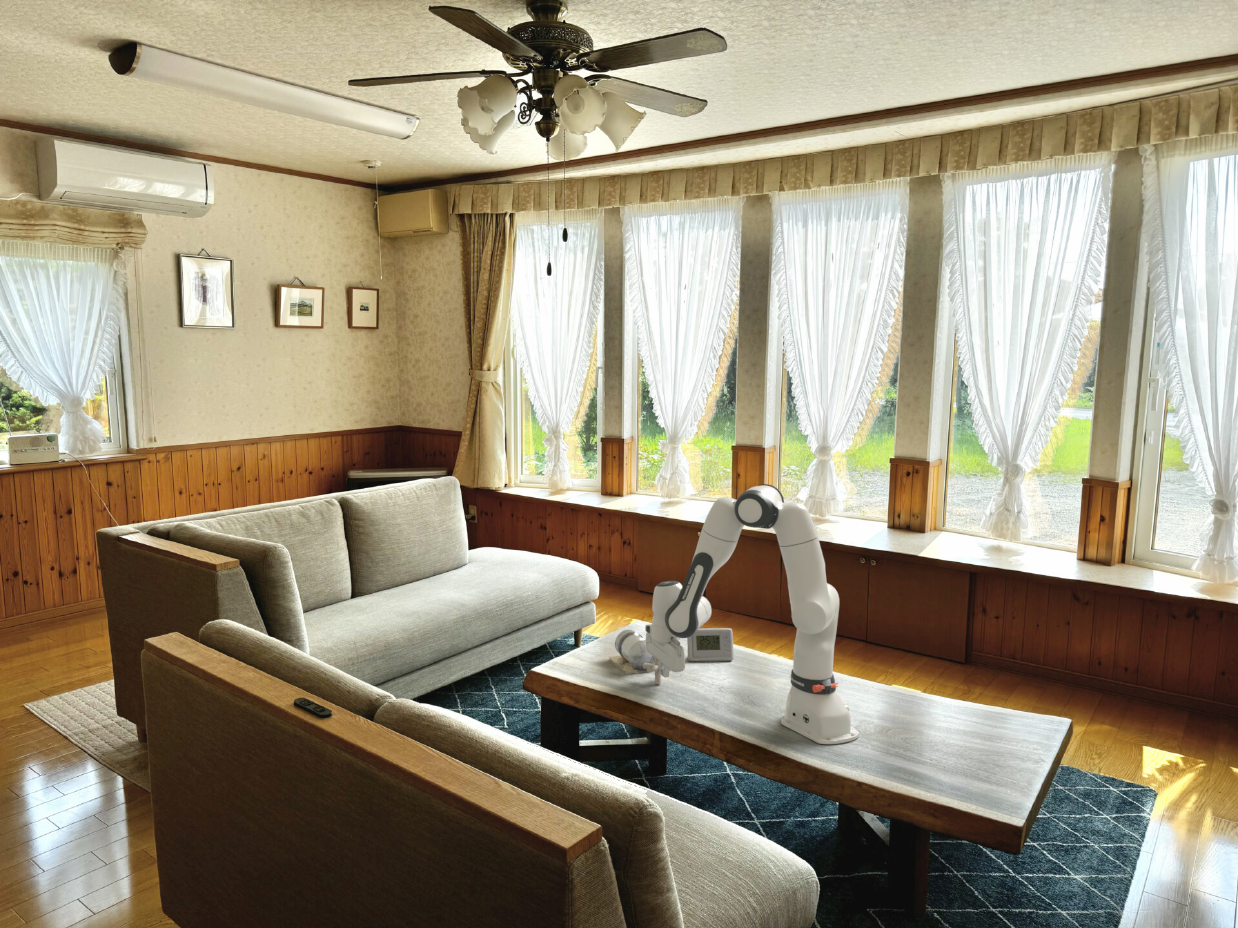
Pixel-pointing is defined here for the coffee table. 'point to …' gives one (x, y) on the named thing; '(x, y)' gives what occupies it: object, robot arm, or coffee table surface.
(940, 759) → the coffee table surface
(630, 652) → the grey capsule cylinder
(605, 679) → the coffee table surface
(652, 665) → the pipe connector
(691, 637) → the digital clock
